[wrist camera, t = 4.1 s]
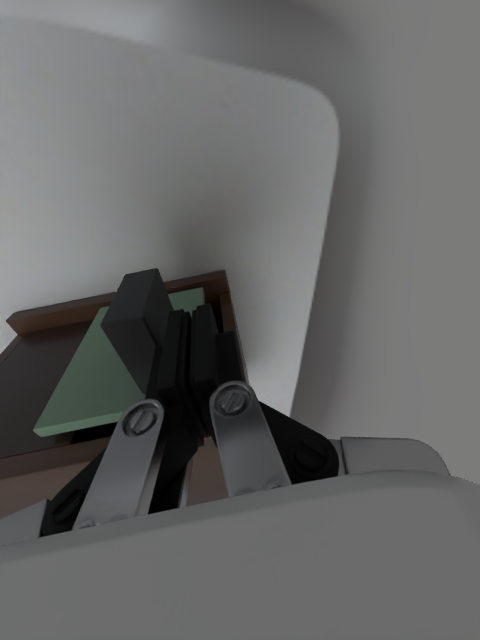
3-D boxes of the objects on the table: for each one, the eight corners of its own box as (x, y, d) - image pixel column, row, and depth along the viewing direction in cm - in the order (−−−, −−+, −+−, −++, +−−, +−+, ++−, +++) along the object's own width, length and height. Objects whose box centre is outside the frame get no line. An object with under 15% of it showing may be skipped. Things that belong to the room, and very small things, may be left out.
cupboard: (12, 312, 19) (-171, 495, 10) (225, 269, 19) (250, 409, 10) (86, 399, 26) (18, 561, 16) (246, 366, 26) (273, 509, 16)
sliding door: (68, 254, 16) (-46, 365, 9) (186, 230, 16) (175, 320, 9) (103, 314, 19) (40, 438, 11) (204, 293, 19) (207, 403, 11)
